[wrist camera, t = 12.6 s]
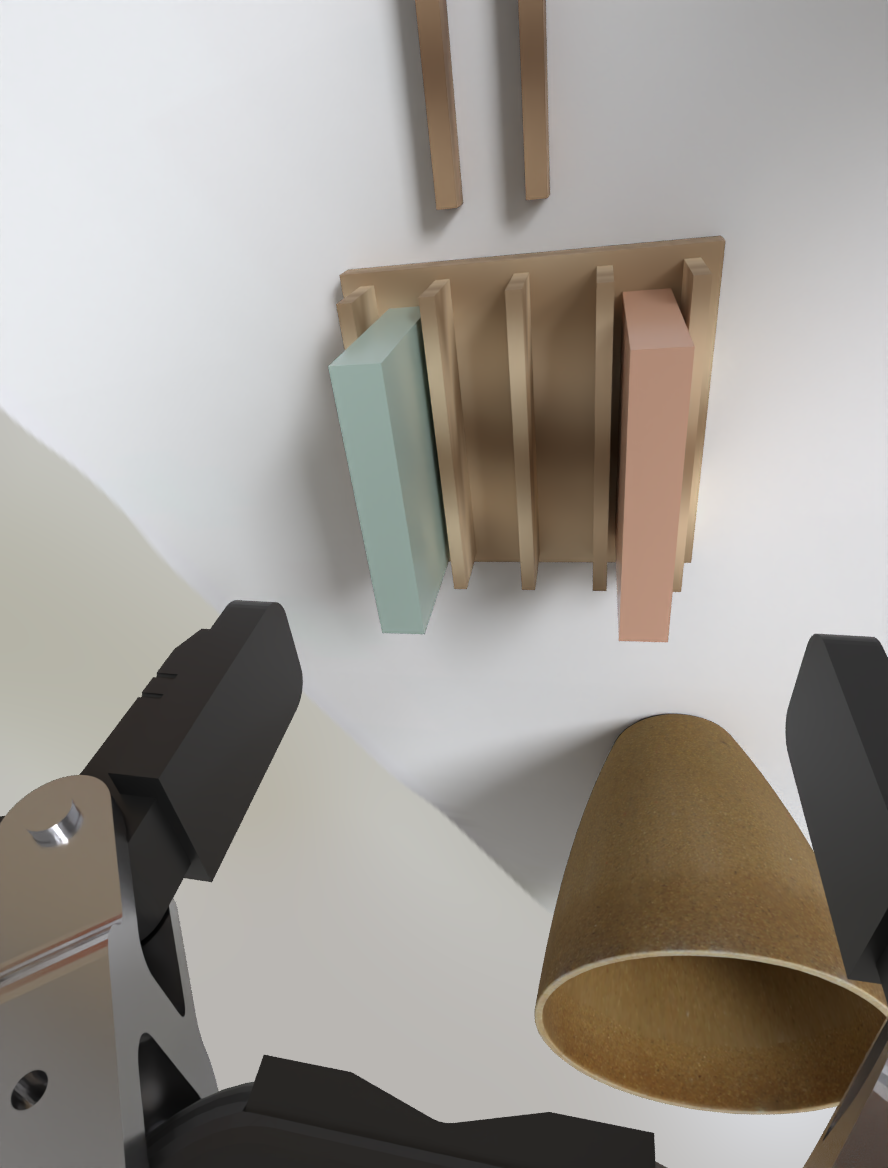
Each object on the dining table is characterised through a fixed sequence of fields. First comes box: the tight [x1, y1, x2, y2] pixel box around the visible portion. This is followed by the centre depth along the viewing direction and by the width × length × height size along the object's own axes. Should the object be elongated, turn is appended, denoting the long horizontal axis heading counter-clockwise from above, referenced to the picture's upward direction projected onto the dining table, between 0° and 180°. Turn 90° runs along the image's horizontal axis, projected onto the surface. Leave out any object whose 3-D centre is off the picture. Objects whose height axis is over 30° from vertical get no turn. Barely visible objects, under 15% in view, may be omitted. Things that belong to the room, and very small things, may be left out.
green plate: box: [328, 306, 450, 634], centre depth 28 cm, size 11×2×8 cm, turn 6°
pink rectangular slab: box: [615, 288, 695, 642], centre depth 26 cm, size 11×2×8 cm, turn 6°
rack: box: [336, 236, 725, 592], centre depth 30 cm, size 14×15×4 cm
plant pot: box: [535, 714, 888, 1114], centre depth 35 cm, size 15×15×16 cm
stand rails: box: [415, 0, 550, 210], centre depth 23 cm, size 10×4×1 cm, turn 6°
